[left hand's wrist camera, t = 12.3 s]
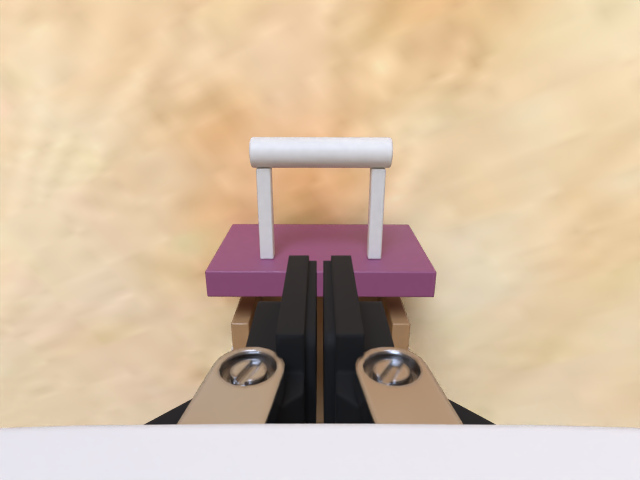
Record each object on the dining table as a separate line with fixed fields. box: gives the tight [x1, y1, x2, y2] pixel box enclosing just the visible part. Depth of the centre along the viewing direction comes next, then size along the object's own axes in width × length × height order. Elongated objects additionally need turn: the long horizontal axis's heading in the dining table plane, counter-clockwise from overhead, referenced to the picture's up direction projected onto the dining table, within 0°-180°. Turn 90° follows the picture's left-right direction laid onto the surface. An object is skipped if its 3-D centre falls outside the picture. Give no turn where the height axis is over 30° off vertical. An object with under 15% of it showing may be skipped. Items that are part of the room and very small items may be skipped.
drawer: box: [205, 137, 436, 424], centre depth 23 cm, size 19×10×6 cm, turn 0°
